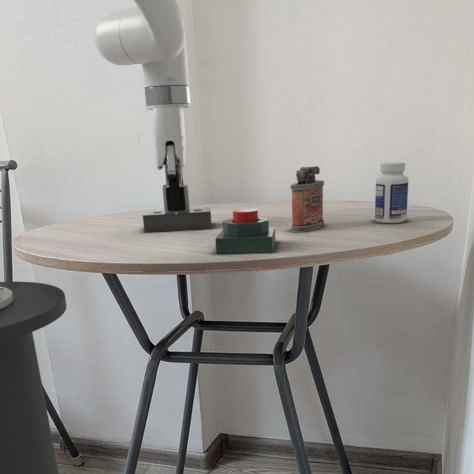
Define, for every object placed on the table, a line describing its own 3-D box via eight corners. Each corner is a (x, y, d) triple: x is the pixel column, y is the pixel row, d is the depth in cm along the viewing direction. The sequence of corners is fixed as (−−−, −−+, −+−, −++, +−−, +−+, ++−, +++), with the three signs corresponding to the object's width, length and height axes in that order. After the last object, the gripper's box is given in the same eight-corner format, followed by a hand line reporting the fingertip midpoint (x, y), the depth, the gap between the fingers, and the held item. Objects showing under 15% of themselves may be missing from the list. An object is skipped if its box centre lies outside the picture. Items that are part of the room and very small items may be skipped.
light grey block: (189, 209, 107) (187, 182, 105) (189, 210, 105) (187, 183, 103) (165, 211, 106) (162, 184, 105) (164, 212, 105) (162, 185, 103)
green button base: (216, 254, 83) (214, 225, 81) (223, 243, 90) (222, 217, 89) (272, 252, 82) (271, 223, 80) (275, 241, 89) (274, 215, 88)
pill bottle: (409, 219, 103) (412, 161, 99) (403, 223, 98) (406, 163, 95) (378, 218, 105) (380, 162, 102) (371, 223, 101) (373, 164, 97)
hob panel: (211, 229, 103) (210, 211, 102) (143, 233, 103) (141, 215, 101) (211, 222, 111) (210, 205, 110) (148, 226, 111) (146, 209, 110)
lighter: (304, 232, 95) (303, 168, 92) (286, 231, 97) (285, 168, 94) (328, 224, 101) (328, 164, 98) (311, 223, 103) (311, 164, 100)
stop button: (232, 225, 83) (231, 212, 82) (234, 221, 86) (234, 209, 86) (257, 224, 83) (256, 211, 82) (259, 220, 86) (258, 208, 85)
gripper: (150, 102, 107) (160, 205, 113) (140, 98, 91) (152, 217, 98) (191, 100, 107) (198, 203, 113) (188, 95, 92) (197, 214, 98)
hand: (177, 208), depth 106 cm, fingers closed
